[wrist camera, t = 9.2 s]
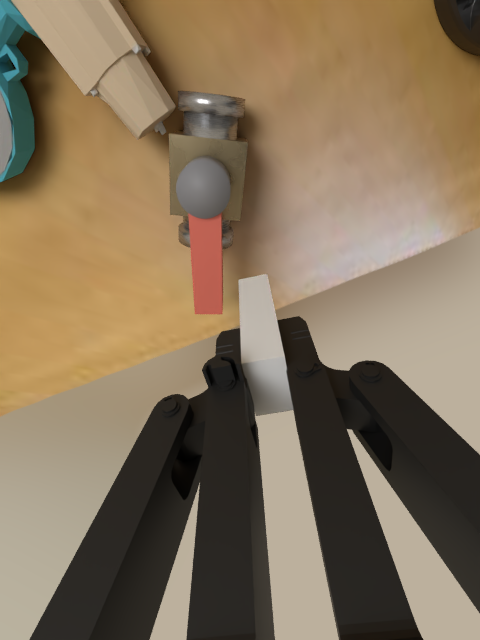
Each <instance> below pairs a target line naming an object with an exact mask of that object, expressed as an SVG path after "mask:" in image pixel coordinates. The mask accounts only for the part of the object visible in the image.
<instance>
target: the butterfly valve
mask: <svg viewBox="0 0 480 640" xmlns="http://www.w3.org/2000/svg"><path fill="white" fill-rule="evenodd" d="M25 30H26V31H27V32H29V33H31V34H32V35H34V36H36V37H38V38H39V39H41V40H42V41H43V42H44V44H45V45H46V46H47V48H48V49H49V50H50V51H51V53H52V54H53V55H54V57H55V58H56V59H57V60H58V62H59V63H60V64H61V66H62V67H63V68H64V69H65V71H66V72H67V73H68V75H69V76H70V77H71V78H72V80H73V81H74V82H75V84H76V85H77V86H78V87H79V89H80V90H81V91H82V93H83V94H84V95H85V96H90V95H93V97H95V96H98V97H99V98H100V99H102V100H103V101H104V102H106V103H107V104H109V106H110V107H111V108H112V109H113V111H114V112H115V113H116V114H117V116H118V117H119V118H120V119H121V120H122V122H123V123H124V124H125V125H126V127H127V128H128V129H129V130H130V132H131V133H132V134H133V135H134V137H135V138H136V139H137V140H138V139H140V138H142V137H143V136H145V135H147V134H148V133H150V132H151V131H153V130H155V131H156V132H158V131H160V133H161V134H162V135H163V134H164V133H166V130H165V127H164V125H163V121H164V120H165V119H166V118H168V117H169V115H170V114H171V113H172V112H173V111H174V110H175V108H176V106H175V104H174V102H173V101H172V99H171V98H170V96H169V95H168V93H167V91H166V90H165V88H164V87H163V85H162V84H161V82H160V80H159V79H158V77H157V76H156V74H155V73H154V71H153V69H152V68H151V66H150V65H149V63H148V62H147V60H146V58H145V57H144V56H148V55H149V54H150V52H151V51H150V49H149V47H148V46H147V44H146V43H145V41H144V39H143V38H142V36H141V35H140V33H139V32H138V30H137V29H136V27H135V25H134V24H133V22H132V21H131V19H130V18H129V16H128V14H127V13H126V11H125V10H124V8H123V7H122V5H121V4H120V2H119V0H0V182H3V181H5V180H7V179H10V178H12V177H14V176H16V175H18V174H20V173H23V171H24V169H25V167H26V165H27V163H28V161H29V159H30V157H31V156H32V154H33V152H34V150H35V136H34V117H33V113H32V110H31V106H30V103H29V99H28V96H27V92H26V90H25V89H24V87H23V85H22V83H21V81H20V79H22V78H23V77H24V76H26V75H27V74H28V61H27V60H26V59H25V57H24V56H23V55H22V53H21V52H20V50H19V49H18V48H17V46H16V44H17V43H18V41H19V40H20V38H21V36H22V35H23V33H24V32H25ZM9 59H11V61H12V62H13V64H14V66H15V67H16V70H14V68H13V66H12V64H11V62H10V60H9Z"/></svg>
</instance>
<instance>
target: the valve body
mask: <svg viewBox="0 0 480 640" xmlns="http://www.w3.org/2000/svg"><path fill="white" fill-rule="evenodd" d="M244 108H245V99H242V98H237V97H230V96H223V95H216V94H208V93H199V92H189V91H178V110H181V111H184V131H175V132H172V133H169V170H170V215H180V216H183V223H181V224H180V225H179V242H180V243H181V244H183V245H185V246H187V247H190V232H189V217H188V212H187V211H185V210H184V208H183V207H182V206H181V204H180V202H179V200H178V197H177V193H176V183H177V179H178V177H179V175H180V173H181V172H182V170H183V169H184V168H185V167H186V165H187V164H188V163H189V162H190V161H191V160H193V159H194V158H196V157H199V156H211V157H214V158H216V159H218V160H219V161H221V162H222V163H223V164H224V166H225V167H226V169H227V170H228V173H229V176H230V199H229V202H228V204H227V206H226V208H225V209H224V210H223V211H222V249H226V248H228V247H230V246H231V245H232V242H233V228H232V227H230V226H229V224H230V220H234V221H240V219H241V209H242V199H243V189H244V179H245V168H246V158H247V148H248V142H247V140H246V138H240V137H237V127H238V117H240V118H244ZM190 248H191V247H190Z"/></svg>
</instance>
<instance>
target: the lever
mask: <svg viewBox="0 0 480 640" xmlns="http://www.w3.org/2000/svg"><path fill="white" fill-rule="evenodd" d="M176 193H177V197H178V200H179V202H180V204H181V206H182V207H183V208H184V210H185V211H187V212H188V217H189V232H190V247H191V262H192V277H193V291H194V306H195V314H222V310H223V253H222V211H223V210H224V209H225V208H226V206H227V204H228V202H229V199H230V176H229V173H228V170H227V169H226V167H225V166H224V164H223V163H222V162H221V161H219V160H218V159H216V158H214V157H211V156H199V157H196V158H194V159H193V160H191V161H190V162H189V163H188V164H187V165H186V167H185V168H184V169H183V170H182V172H181V173H180V175H179V177H178V179H177V183H176Z"/></svg>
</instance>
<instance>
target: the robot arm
mask: <svg viewBox="0 0 480 640" xmlns="http://www.w3.org/2000/svg"><path fill="white" fill-rule="evenodd" d="M434 2H435V7H436V11H437V14H438V17H439V20H440V22H441V25H442V27H443V28H444V30H445V32H446V33H447V35H448V36H449V37H450V39H451V40H452V41H453V42H454V43H455V44H456V45H458V46H459V47H460V48H462V49H463V50H465V51H467V52H469V53H472V54H475V55H480V0H434ZM239 308H240V328H238V329H233V330H228V331H222V332H221V333H220V335H219V337H218V338H217V341H216V356H215V357H213V358H212V359H210V360H208V361H207V363H205V365H204V367H203V369H202V371H203V374H204V377H205V379H206V382H207V385H208V389H207V390H206V391H204V392H203V393H201V394H200V395H197V396H195V397H193V398H190V399H187V398H186V397H185V396H184V395H180V394H175V395H170V396H167V397H165V398H163V399H162V400H161V401H160V402H158V403H157V405H156V406H155V407H154V409H153V411H152V412H151V414H150V416H149V418H148V420H147V422H146V424H145V425H144V428H143V429H142V431H141V433H140V435H139V437H138V438H137V440H136V442H135V444H134V446H133V448H132V450H131V452H130V453H129V455H128V457H127V459H126V461H125V463H124V465H123V466H122V468H121V471H120V472H119V474H118V476H117V478H116V479H115V481H114V483H113V485H112V487H111V489H110V491H109V493H108V495H107V496H106V498H105V500H104V502H103V504H102V506H101V508H100V509H99V511H98V513H97V515H96V517H95V519H94V520H93V523H92V524H91V526H90V528H89V530H88V532H87V533H86V536H85V537H84V539H83V541H82V543H81V545H80V547H79V548H78V550H77V552H76V554H75V556H74V558H73V560H72V561H71V563H70V565H69V567H68V569H67V571H66V573H65V575H64V576H63V578H62V580H61V582H60V584H59V586H58V587H57V589H56V591H55V593H54V595H53V597H52V599H51V601H50V602H49V604H48V606H47V608H46V610H45V612H44V614H43V616H42V617H41V619H40V621H39V623H38V625H37V627H36V629H35V630H34V632H33V634H32V636H31V638H30V640H149V639H150V636H151V633H152V629H153V626H154V623H155V620H156V617H157V614H158V611H159V608H160V605H161V602H162V598H163V595H164V592H165V589H166V586H167V583H168V580H169V577H170V573H171V570H172V567H173V564H174V561H175V558H176V555H177V551H178V548H179V545H180V542H181V539H182V535H183V533H184V530H185V526H186V523H187V520H188V517H189V514H190V511H191V508H192V505H193V501H194V498H195V495H196V492H197V489H198V485H199V483H200V489H199V501H198V512H197V525H196V536H195V548H194V559H193V570H192V571H193V572H192V583H191V594H190V605H189V618H188V629H187V640H275V636H274V623H273V612H272V599H271V586H270V576H269V575H270V574H269V562H268V550H267V537H266V525H265V513H264V500H263V488H262V476H261V465H260V452H259V439H258V428H257V424H256V421H255V414H256V416H258V415H265V414H271V413H277V412H284V411H290V410H294V415H295V421H296V426H297V432H298V435H299V440H300V446H301V451H302V455H303V461H304V466H305V471H306V476H307V481H308V486H309V491H310V496H311V501H312V506H313V511H314V516H315V521H316V526H317V531H318V536H319V542H320V546H321V552H322V557H323V562H324V567H325V572H326V577H327V582H328V587H329V591H330V597H331V602H332V607H333V612H334V617H335V622H336V627H337V632H338V637H339V640H423V638H422V637H421V634H420V632H419V630H418V628H417V625H416V623H415V620H414V617H413V615H412V612H411V609H410V606H409V603H408V601H407V598H406V595H405V592H404V590H403V587H402V584H401V581H400V578H399V575H398V572H397V570H396V567H395V564H394V561H393V558H392V555H391V553H390V550H389V547H388V544H387V541H386V539H385V536H384V533H383V530H382V527H381V524H380V522H379V519H378V516H377V514H376V510H375V508H374V505H373V502H372V499H371V496H370V494H369V491H368V488H367V485H366V482H365V479H364V477H363V474H362V471H361V468H360V465H359V463H358V460H357V457H356V454H355V451H354V448H353V446H352V443H351V440H350V437H349V435H348V432H347V429H352V430H353V432H354V434H355V435H356V437H357V438H358V440H359V441H360V442H361V444H362V445H363V447H364V448H365V450H366V451H367V452H368V454H369V455H370V457H371V458H372V459H373V461H374V462H375V464H376V465H377V467H378V468H379V470H380V471H381V473H382V474H383V475H384V477H385V478H386V479H387V481H388V483H389V484H390V485H391V487H392V488H393V490H394V491H395V492H396V494H397V495H398V497H399V498H400V500H401V501H402V502H403V504H404V505H405V507H406V508H407V510H408V511H409V513H410V514H411V515H412V517H413V518H414V520H415V521H416V522H417V524H418V525H419V527H420V528H421V530H422V531H423V533H424V534H425V536H426V537H427V538H428V540H429V541H430V543H431V544H432V545H433V547H434V548H435V550H436V551H437V553H438V554H439V556H440V557H441V558H442V560H443V561H444V563H445V564H446V566H447V567H448V568H449V570H450V571H451V573H452V574H453V575H454V577H455V578H456V580H457V581H458V583H459V584H460V585H461V587H462V588H463V590H464V591H465V593H466V594H467V596H468V597H469V599H470V600H471V601H472V603H473V604H474V606H475V607H476V609H477V610H478V611H479V613H480V455H479V454H478V453H477V452H476V451H475V450H474V449H473V448H472V447H471V446H470V445H469V444H468V443H467V442H466V441H465V440H464V439H462V437H461V436H459V435H458V434H457V433H456V432H455V431H454V430H453V429H452V428H451V427H450V426H449V425H448V424H447V423H446V422H445V421H444V420H443V419H442V418H441V417H439V415H437V414H436V413H435V412H434V411H433V410H432V409H431V408H430V407H429V406H428V405H427V404H426V403H425V402H424V401H423V400H422V399H421V398H420V397H419V396H418V395H416V393H415V392H414V391H412V390H411V389H410V388H409V387H408V386H407V385H406V384H405V383H404V382H403V381H402V380H401V379H400V378H399V377H398V376H397V375H396V374H395V373H394V372H393V371H392V370H391V369H390V368H388V367H387V366H385V365H384V364H382V363H379V362H376V361H362V362H358V363H357V364H354V365H353V366H352V367H351V369H350V370H349V371H344V370H334V369H331V368H328V367H327V366H325V365H323V364H322V362H320V360H319V358H318V355H317V352H316V349H315V346H314V343H313V341H312V338H311V335H310V332H309V329H308V326H307V323H306V321H304V320H303V319H302V318H301V317H299V316H298V317H292V318H287V319H282V320H277V318H276V313H275V308H274V304H273V299H272V294H271V289H270V285H269V280H268V275H267V274H264V275H259V276H254V277H249V278H244V279H239ZM254 410H255V411H254Z"/></svg>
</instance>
